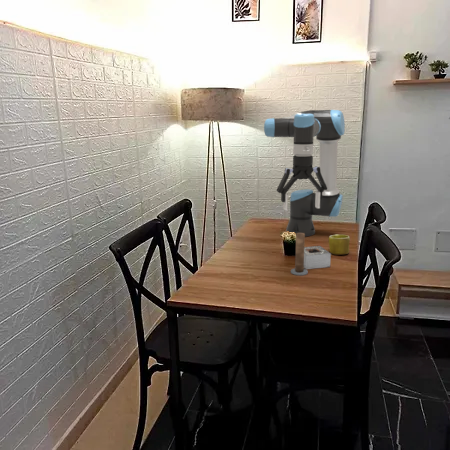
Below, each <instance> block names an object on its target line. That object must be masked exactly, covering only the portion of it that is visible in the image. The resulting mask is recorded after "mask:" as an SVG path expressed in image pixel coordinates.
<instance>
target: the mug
mask: <svg viewBox="0 0 450 450" xmlns="http://www.w3.org/2000/svg"><path fill="white" fill-rule="evenodd" d="M350 240H351V239H350V236H349V235H346V234H338V233H337V234H336V233H335V234H333V235H329V237H328V246H329V247H328V248H329V253H331V255H336V256H340V255H341V256H342V255H347V254H349V252H350V242H351V241H350Z"/></svg>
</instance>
